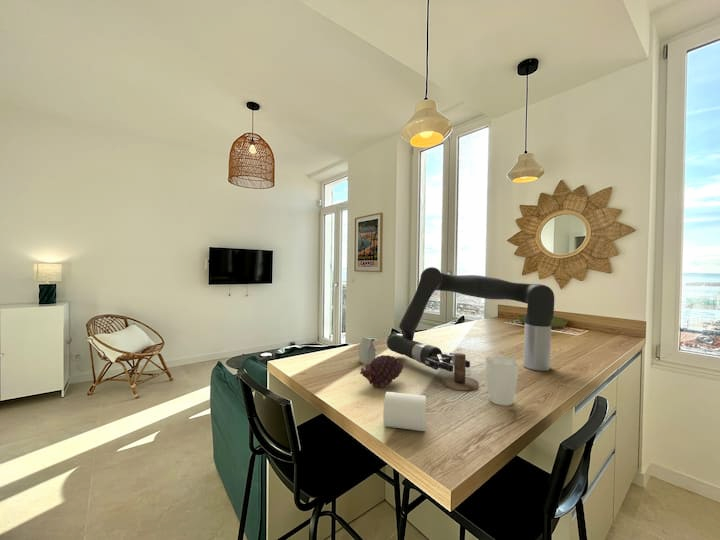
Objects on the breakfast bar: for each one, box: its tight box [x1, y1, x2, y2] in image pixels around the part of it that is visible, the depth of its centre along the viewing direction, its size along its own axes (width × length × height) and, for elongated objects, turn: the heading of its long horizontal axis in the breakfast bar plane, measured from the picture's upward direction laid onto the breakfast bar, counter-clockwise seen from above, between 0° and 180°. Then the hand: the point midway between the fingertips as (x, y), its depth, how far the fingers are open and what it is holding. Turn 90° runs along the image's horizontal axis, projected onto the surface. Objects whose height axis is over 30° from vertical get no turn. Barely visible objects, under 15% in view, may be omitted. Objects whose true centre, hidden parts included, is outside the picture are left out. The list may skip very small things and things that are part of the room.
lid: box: [441, 352, 480, 392], centre depth 106 cm, size 12×12×10 cm
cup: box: [484, 356, 519, 407], centre depth 93 cm, size 9×9×12 cm
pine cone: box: [359, 354, 405, 388], centre depth 103 cm, size 18×10×10 cm, turn 126°
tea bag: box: [358, 336, 377, 366], centre depth 126 cm, size 4×7×10 cm, turn 30°
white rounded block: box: [382, 391, 427, 432], centre depth 79 cm, size 12×10×8 cm
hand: (461, 366), depth 105 cm, fingers open, 8 cm apart
